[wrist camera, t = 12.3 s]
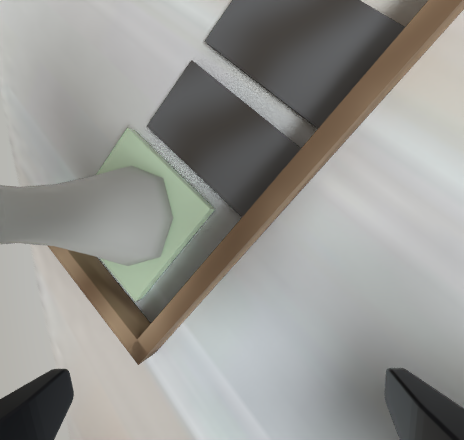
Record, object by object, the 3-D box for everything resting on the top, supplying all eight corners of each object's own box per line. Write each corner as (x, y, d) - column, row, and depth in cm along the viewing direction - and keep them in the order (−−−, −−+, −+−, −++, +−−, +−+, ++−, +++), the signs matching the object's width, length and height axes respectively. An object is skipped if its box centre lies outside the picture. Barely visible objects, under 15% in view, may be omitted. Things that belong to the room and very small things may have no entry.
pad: (215, 209, 20) (210, 209, 19) (141, 298, 22) (134, 301, 21) (134, 130, 22) (127, 127, 21) (75, 218, 24) (67, 218, 23)
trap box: (664, -215, 12) (723, -294, 10) (156, 351, 21) (138, 365, 19) (420, -281, 15) (431, -350, 13) (67, 240, 24) (44, 241, 23)
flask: (93, 260, 22) (-85, 291, 13) (95, 167, 22) (-82, 130, 13) (173, 271, 20) (24, 318, 11) (177, 165, 20) (29, 117, 10)
